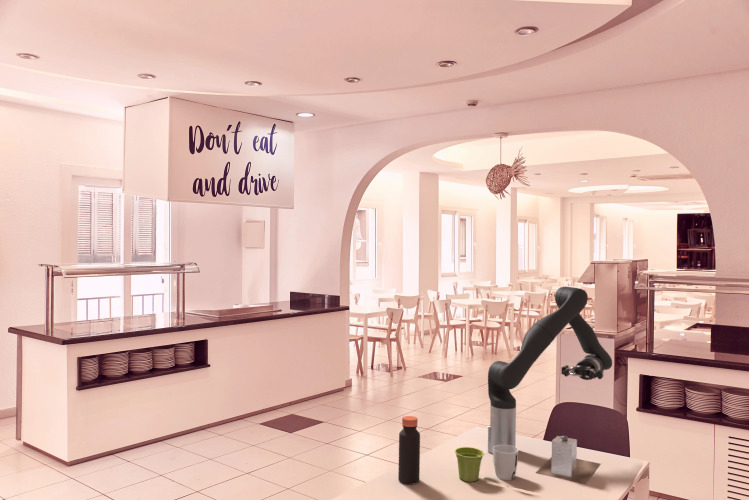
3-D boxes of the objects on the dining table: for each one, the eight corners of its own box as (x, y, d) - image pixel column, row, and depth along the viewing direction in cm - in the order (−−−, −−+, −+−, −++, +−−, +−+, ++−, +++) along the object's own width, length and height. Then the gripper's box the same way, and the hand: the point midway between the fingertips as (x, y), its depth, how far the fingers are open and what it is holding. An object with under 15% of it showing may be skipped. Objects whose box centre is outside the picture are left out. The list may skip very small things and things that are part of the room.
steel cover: (551, 474, 187) (551, 437, 187) (556, 468, 192) (557, 432, 192) (571, 478, 184) (571, 440, 184) (576, 472, 189) (576, 435, 189)
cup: (518, 485, 180) (519, 454, 180) (492, 483, 181) (492, 451, 181) (517, 476, 188) (517, 445, 188) (492, 473, 189) (492, 443, 189)
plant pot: (484, 474, 188) (484, 448, 189) (483, 485, 179) (483, 458, 179) (455, 471, 191) (456, 445, 191) (453, 482, 181) (453, 455, 181)
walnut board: (535, 475, 188) (535, 472, 188) (554, 456, 206) (554, 454, 206) (585, 487, 179) (585, 484, 179) (600, 466, 198) (600, 463, 198)
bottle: (413, 486, 178) (414, 422, 178) (394, 481, 181) (395, 418, 181) (423, 479, 183) (424, 417, 184) (404, 474, 187) (405, 413, 187)
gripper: (569, 356, 223) (557, 362, 209) (608, 360, 215) (598, 367, 201) (569, 375, 223) (557, 382, 209) (607, 380, 215) (598, 388, 201)
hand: (577, 375), depth 205 cm, fingers open, 8 cm apart
